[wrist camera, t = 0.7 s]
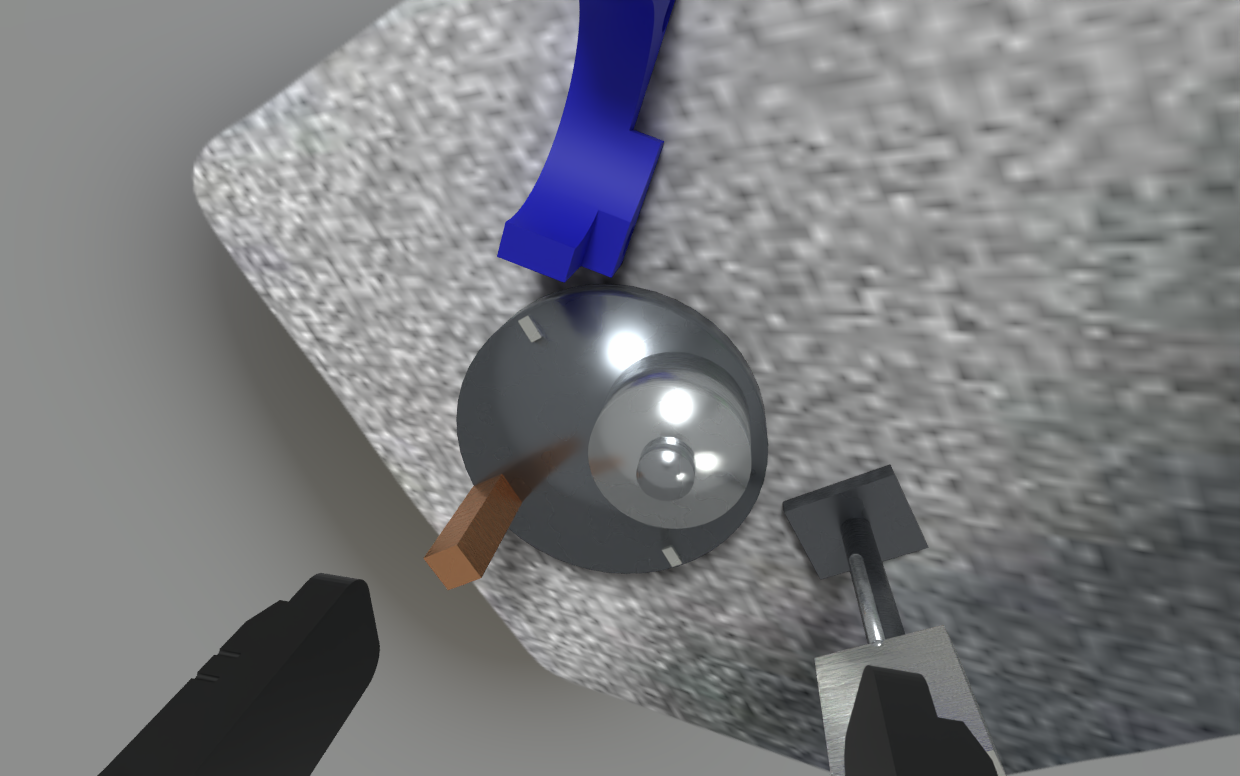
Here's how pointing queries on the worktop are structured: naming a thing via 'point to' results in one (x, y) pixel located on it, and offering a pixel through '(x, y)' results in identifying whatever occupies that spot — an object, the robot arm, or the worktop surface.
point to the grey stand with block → (876, 603)
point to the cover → (672, 441)
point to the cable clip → (595, 148)
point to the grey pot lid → (575, 434)
